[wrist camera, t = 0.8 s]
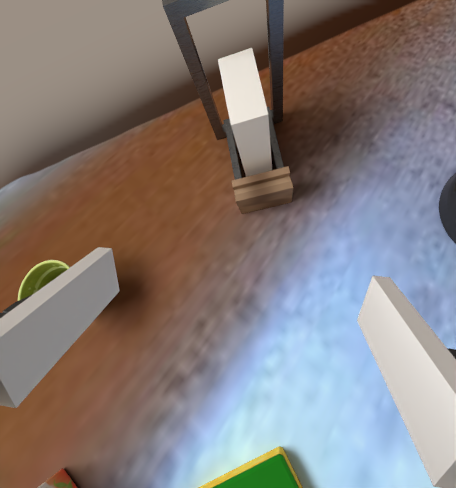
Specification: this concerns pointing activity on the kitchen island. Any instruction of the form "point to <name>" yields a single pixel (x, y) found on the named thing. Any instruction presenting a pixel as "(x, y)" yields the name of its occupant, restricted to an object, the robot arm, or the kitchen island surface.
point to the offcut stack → (263, 190)
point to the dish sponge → (260, 473)
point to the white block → (247, 111)
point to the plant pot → (41, 277)
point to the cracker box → (59, 481)
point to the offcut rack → (177, 8)
